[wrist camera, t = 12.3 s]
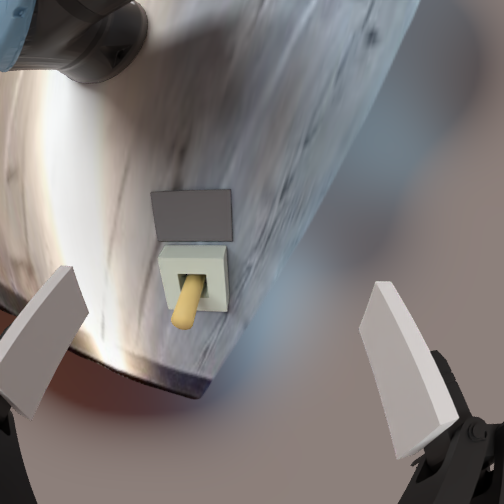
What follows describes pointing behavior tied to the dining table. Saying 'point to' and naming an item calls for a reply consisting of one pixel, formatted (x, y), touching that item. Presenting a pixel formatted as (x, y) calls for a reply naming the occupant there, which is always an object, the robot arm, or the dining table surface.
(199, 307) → the hole block
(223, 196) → the mat
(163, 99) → the dining table surface
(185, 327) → the peg
